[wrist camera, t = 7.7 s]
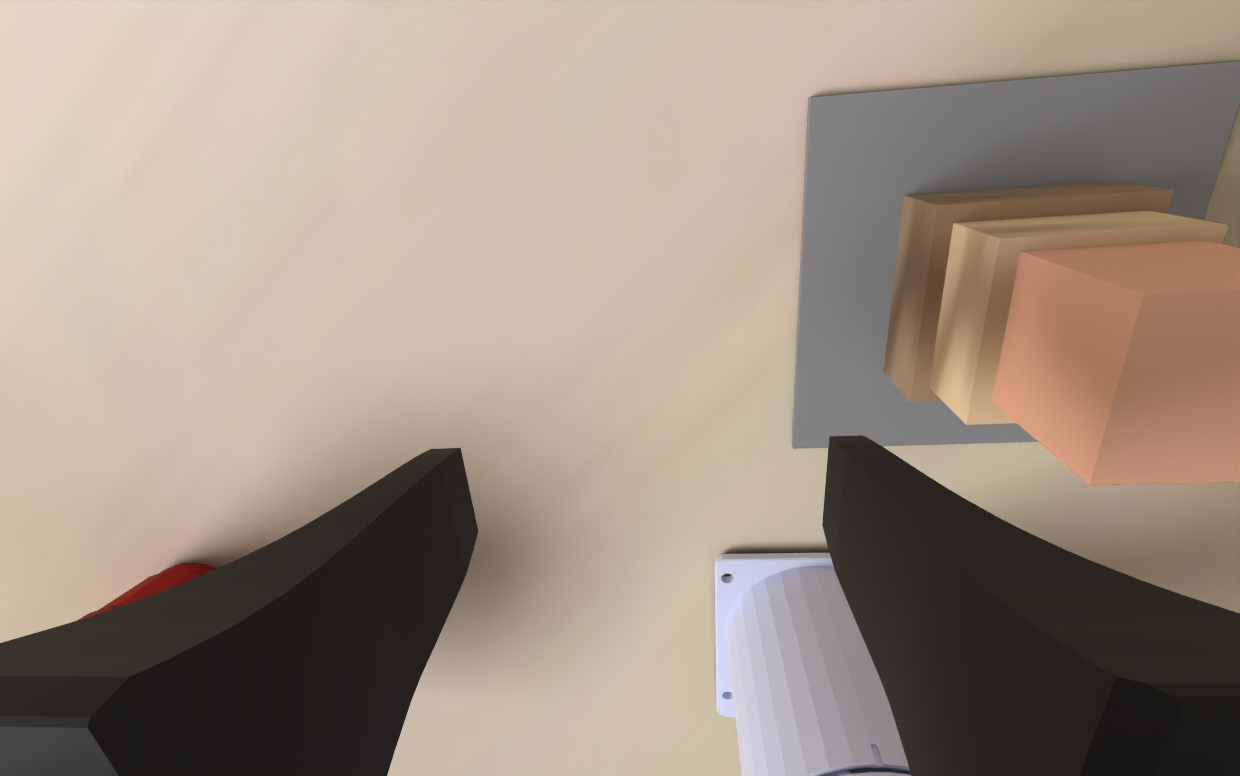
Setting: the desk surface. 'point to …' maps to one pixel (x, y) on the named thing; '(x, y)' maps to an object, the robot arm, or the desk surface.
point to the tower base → (929, 251)
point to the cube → (1128, 360)
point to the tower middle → (987, 283)
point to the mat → (967, 161)
